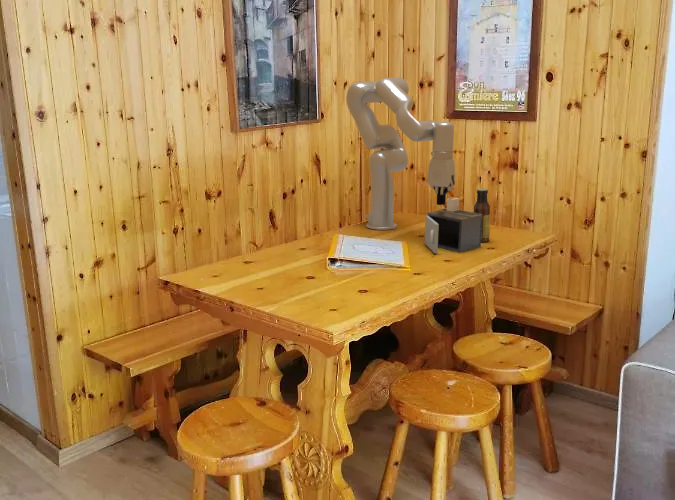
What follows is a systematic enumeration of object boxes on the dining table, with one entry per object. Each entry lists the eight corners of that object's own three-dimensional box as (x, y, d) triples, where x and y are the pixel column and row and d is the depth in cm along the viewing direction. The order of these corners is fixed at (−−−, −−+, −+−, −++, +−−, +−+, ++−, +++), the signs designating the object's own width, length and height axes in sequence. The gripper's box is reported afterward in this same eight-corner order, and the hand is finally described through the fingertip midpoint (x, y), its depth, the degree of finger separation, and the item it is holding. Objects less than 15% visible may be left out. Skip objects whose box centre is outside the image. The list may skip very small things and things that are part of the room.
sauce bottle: (488, 239, 275) (491, 188, 269) (490, 243, 269) (493, 191, 263) (471, 238, 275) (474, 187, 270) (472, 242, 269) (475, 190, 264)
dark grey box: (426, 244, 266) (427, 211, 263) (446, 239, 274) (448, 207, 271) (460, 252, 254) (462, 218, 251) (480, 247, 262) (482, 214, 259)
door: (421, 243, 265) (422, 215, 262) (426, 243, 265) (428, 215, 263) (431, 253, 251) (432, 224, 248) (437, 253, 251) (438, 223, 248)
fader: (446, 210, 265) (446, 197, 264) (452, 209, 268) (453, 196, 266) (452, 211, 263) (453, 198, 262) (458, 210, 266) (459, 197, 264)
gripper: (420, 154, 268) (419, 203, 272) (452, 158, 257) (450, 208, 261) (433, 153, 272) (432, 200, 277) (465, 156, 262) (463, 205, 266)
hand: (440, 204), depth 269 cm, fingers closed
